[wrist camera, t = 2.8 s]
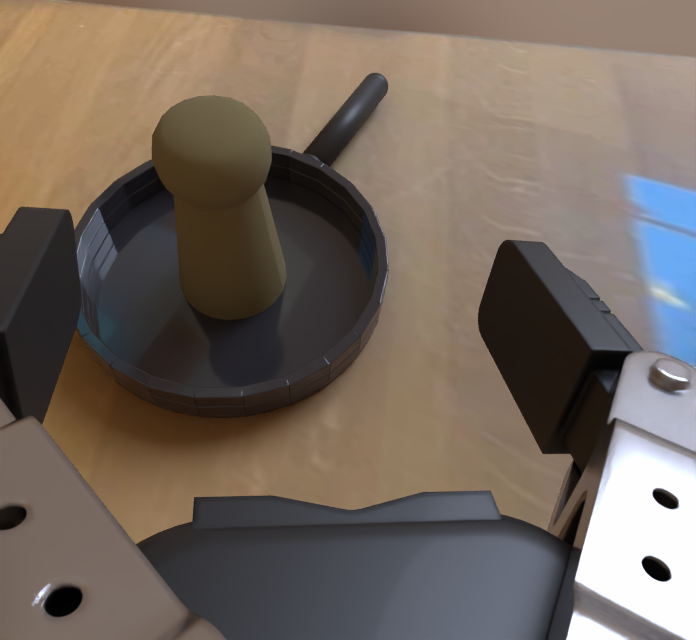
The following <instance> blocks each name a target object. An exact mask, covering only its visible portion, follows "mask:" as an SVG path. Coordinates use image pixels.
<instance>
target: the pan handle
mask: <svg viewBox="0 0 696 640" xmlns="http://www.w3.org/2000/svg"><path fill="white" fill-rule="evenodd" d="M387 90H388V82H387V80H386V78H385V77H384V76H383V75H381V74H379V73H372V74H369V75H368V76H367V77H366V78H365V79H364V80H363V81H362V83H361V84H360V85H359V86H358V87H357V89H356V90H355V91H354V92H353V93H352V95H351V96H350V97H349V98H348V100H347V101H346V102H345V103H344V104H343V106H342V107H341V108H340V109H339V110H338V112H337V113H336V114H335V115H334V116H333V118H332V119H331V120H330V121H329V122H328V124H327V125H326V126H325V127H324V128H323V130H322V131H321V132H320V133H319V134H318V136H317V137H316V138H315V139H314V140H313V142H312V143H311V144H310V145H309V146H308V148H307V149H306V150H305V151H304V153H303V155H306V156H308V157H310V158H313V159H315V160H317V161H320V162H322V163H324V164H326V165H327V166H330V165H331V164H332V163H333V161H334V160H335V159H336V157H337V156H338V155H339V154H340V152H341V151H342V150H343V149H344V147H345V146H346V145H347V143H348V142H349V141H350V140H351V138H352V137H353V136H354V134H355V133H356V132H357V131H358V129H359V128H360V127H361V126H362V124H363V123H364V122H365V120H366V119H367V118H368V117H369V115H370V114H371V113H372V111H373V110H374V109H375V108H376V106H377V105H378V104H379V102H380V101H381V100H382V99H383V97H384V96H385V95H386V93H387Z"/></svg>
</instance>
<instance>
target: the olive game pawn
mask: <svg viewBox="0 0 696 640" xmlns="http://www.w3.org/2000/svg"><path fill="white" fill-rule="evenodd" d="M152 160H153V163H154V167H155V169H156V171H157V174H158V176H159V178H160V180H161V181H162V183H163V184H164V186H165V187H166V189H167V190H168V191H170V192H171V193H172V194H173V195H174V207H175V220H176V234H177V248H178V262H179V276H180V287H181V290H182V292H183V294H184V296H185V299H186V300H187V301H188V302H189V303H190V304H191V305H192V306H193V307H194V308H195V309H196V310H197V311H199V312H201V313H203V314H205V315H207V316H209V317H212V318H218V319H224V320H235V319H245V318H248V317H251V316H253V315H256V314H259V313H261V312H263V311H264V310H265V309H267V308H268V307H269V306H271V305H272V304H273V303H275V301H276V300H277V299H278V297H279V296H280V294H281V293H282V292H283V290H284V286H285V282H286V278H287V275H286V267H285V262H284V258H283V254H282V250H281V247H280V243H279V239H278V235H277V232H276V228H275V224H274V220H273V217H272V213H271V209H270V205H269V202H268V198H267V194H266V191H265V187H264V183H265V181H266V178H267V175H268V172H269V169H270V165H271V161H272V151H271V143H270V137H269V134H268V131H267V129H266V127H265V125H264V124H263V122H262V121H261V119H260V117H259V116H258V115H257V114H256V113H255V112H254V111H253V110H251V109H250V108H249V107H248V106H246V105H245V104H244V103H242V102H239V101H237V100H234V99H232V98H228V97H222V96H215V95H214V96H198V97H195V98H191V99H187V100H184V101H182V102H180V103H178V104H176V105H174V106H172V107H171V108H170V109H169V110H168V111H167V112H166V113H165V114H164V115H163V116H162V117H161V119H160V121H159V123H158V125H157V127H156V129H155V131H154V133H153V135H152Z"/></svg>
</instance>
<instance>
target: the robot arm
mask: <svg viewBox="0 0 696 640" xmlns="http://www.w3.org/2000/svg"><path fill="white" fill-rule="evenodd" d="M80 307H81V286H80V277H79V269H78V260H77V252H76V243H75V235H74V227H73V220H72V216H71V213H70V212H69V210H65V209H50V208H35V207H20V208H19V209H18V210H17V212H16V213H15V215H14V217H13V218H12V220H11V221H10V223H9V224H8V226H7V228H6V229H5V231H4V232H3V234H0V640H696V369H695V368H693V367H692V366H690V365H689V364H687V363H685V362H683V361H681V360H679V359H677V358H675V357H673V356H670V355H667V354H664V353H660V352H655V351H645V350H643V348H642V347H641V346H640V345H639V344H638V342H637V341H636V340H635V339H634V338H633V337H632V335H631V334H630V333H629V332H628V331H627V329H626V328H625V327H624V326H623V325H622V323H621V322H620V321H619V320H618V319H617V318H616V316H615V315H614V314H611V313H610V312H611V310H610V309H609V308H608V307H607V306H606V304H605V303H604V302H603V301H600V297H599V296H598V295H597V294H596V293H595V291H594V290H593V289H592V288H591V287H590V285H589V284H588V283H587V282H586V281H584V280H583V279H581V278H580V277H579V276H577V275H576V274H574V273H573V272H571V271H570V270H568V269H567V268H565V267H564V266H563V265H562V263H561V262H560V261H559V260H558V259H557V257H556V256H555V255H554V254H553V252H552V251H551V250H550V249H549V248H548V246H547V245H546V244H545V243H543V242H532V241H517V240H505V241H504V242H503V243H502V244H501V245H500V247H499V249H498V251H497V254H496V257H495V260H494V263H493V266H492V269H491V272H490V276H489V279H488V282H487V285H486V288H485V291H484V294H483V297H482V300H481V303H480V307H479V313H478V325H479V331H480V334H481V336H482V338H483V340H484V342H485V344H486V346H487V348H488V350H489V352H490V354H491V356H492V357H493V359H494V361H495V363H496V365H497V367H498V369H499V371H500V373H501V375H502V377H503V379H504V381H505V382H506V384H507V386H508V388H509V390H510V392H511V394H512V396H513V398H514V400H515V402H516V404H517V405H518V407H519V409H520V411H521V413H522V415H523V417H524V419H525V421H526V423H527V425H528V427H529V428H530V430H531V432H532V434H533V436H534V438H535V440H536V442H537V444H538V446H539V448H540V450H541V452H542V453H543V454H571V456H572V457H573V461H572V463H571V464H570V466H569V468H568V470H567V472H566V475H565V478H564V481H563V484H562V487H561V490H560V493H559V496H558V499H557V502H556V505H555V508H554V511H553V514H552V517H551V520H550V523H549V526H548V529H547V531H545V530H543V529H542V528H540V527H537V526H535V525H532V524H530V523H528V522H525V521H522V520H519V519H516V518H513V517H510V516H506V515H501V514H500V513H499V511H498V508H497V506H496V503H495V501H494V498H493V496H492V493H491V491H455V492H422V493H418V494H414V495H411V496H407V497H403V498H399V499H396V500H392V501H388V502H385V503H381V504H377V505H373V506H370V507H366V508H362V509H357V510H345V509H340V508H334V507H329V506H324V505H319V504H314V503H308V502H303V501H298V500H293V499H288V498H282V497H277V496H232V497H194V507H193V521H192V522H189V523H185V524H182V525H178V526H175V527H172V528H170V529H167V530H164V531H162V532H159V533H157V534H155V535H153V536H151V537H149V538H147V539H145V540H143V541H141V542H139V543H137V544H135V543H134V542H133V540H132V539H131V538H130V537H129V535H128V534H127V533H126V531H125V530H124V529H123V528H122V526H121V525H120V524H119V523H118V521H117V520H116V519H115V517H114V516H113V515H112V514H111V512H110V511H109V510H108V509H107V507H106V506H105V505H104V503H103V502H102V501H101V500H100V498H99V497H98V496H97V495H96V493H95V492H94V491H93V490H92V488H91V487H90V486H89V484H88V483H87V482H86V481H85V479H84V478H83V477H82V476H81V474H80V473H79V472H78V470H77V469H76V468H75V467H74V465H73V464H72V463H71V462H70V460H69V459H68V458H67V456H66V455H65V454H64V453H63V451H62V450H61V449H60V448H59V446H58V445H57V444H56V442H55V441H54V440H53V439H52V437H51V436H50V435H49V434H48V432H47V431H46V430H45V428H44V427H43V426H42V423H43V420H44V417H45V415H46V412H47V409H48V406H49V403H50V400H51V397H52V395H53V392H54V389H55V386H56V383H57V380H58V377H59V374H60V372H61V369H62V366H63V363H64V360H65V357H66V354H67V352H68V349H69V346H70V343H71V340H72V337H73V334H74V331H75V329H76V326H77V323H78V320H79V315H80Z"/></svg>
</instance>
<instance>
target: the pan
mask: <svg viewBox="0 0 696 640" xmlns="http://www.w3.org/2000/svg"><path fill="white" fill-rule="evenodd" d="M271 151H272V161H271V165H270V169H269V172H268V175H267V178H266V181H265V183H264V187H265V191H266V194H267V198H268V202H269V205H270V209H271V213H272V217H273V220H274V224H275V228H276V232H277V235H278V239H279V243H280V247H281V250H282V254H283V258H284V262H285V267H286V275H287V278H286V282H285V286H284V290H283V292H282V293H281V294H280V296H279V297H278V299H277V300H276V301H275V303H273V304H272V305H271V306H269V307H268V308H267V309H265V310H264V311H263V312H261V313H259V314H256V315H253V316H251V317H248V318H245V319H235V320H224V319H218V318H212V317H209V316H207V315H205V314H203V313H201V312H199V311H197V310H196V309H195V308H194V307H193V306H192V305H191V304H190V303H189V302H188V301H187V300H186V299H185V296H184V294H183V292H182V290H181V287H180V276H179V262H178V248H177V234H176V220H175V207H174V195H173V194H172V193H171V192H170V191H168V190H167V189H166V187H165V186H164V184H163V183H162V181H161V180H160V178H159V176H158V174H157V171H156V169H155V167H154V163H153V160H149V161H148V162H145V163H143V164H142V165H140V166H138V167H137V168H135V169H133V170H132V171H130V172H129V173H127V174H125V175H124V176H122V177H120V178H119V179H117V180H116V181H114V182H113V183H112V184H111V185H110V186H109V187H108V188H107V189H106V190H105V191H104V192H103V193H102V194H101V195H100V196H99V197H98V198H97V199H96V200H95V201H94V202H93V203H92V204H90V206H89V207H88V209H87V210H86V212H85V214H84V215H83V217H82V219H81V220H80V222H79V223H78V225H77V227H76V228H75V230H74V235H75V243H76V252H77V260H78V269H79V277H80V286H81V307H80V315H79V320H78V323H77V326H76V328H77V330H78V332H79V334H80V337H81V338H82V340H83V341H84V343H85V345H86V346H87V348H88V350H89V351H90V353H91V355H92V356H93V358H94V359H95V360H96V361H97V362H98V363H99V364H100V365H101V366H102V367H103V368H104V370H105V371H106V372H107V373H108V374H109V375H110V376H111V377H112V378H113V379H114V380H116V381H117V383H118V384H120V385H121V386H122V387H124V388H125V389H127V390H129V391H130V392H132V393H133V394H135V395H136V396H138V397H139V398H141V399H144V400H146V401H148V402H150V403H152V404H154V405H157V406H159V407H162V408H165V409H169V410H172V411H175V412H178V413H183V414H189V415H195V416H201V417H219V418H227V417H241V416H250V415H255V414H260V413H265V412H270V411H273V410H276V409H279V408H282V407H285V406H288V405H291V404H293V403H295V402H297V401H300V400H302V399H304V398H306V397H308V396H310V395H312V394H314V393H315V392H317V391H318V390H320V389H322V388H323V387H325V386H326V385H328V384H329V383H330V382H332V381H333V380H334V379H335V378H337V377H338V376H339V375H340V374H341V373H343V372H344V371H345V370H346V369H347V368H348V366H349V365H350V364H351V363H352V362H353V361H354V360H355V359H356V358H357V357H358V355H359V354H360V352H361V351H362V349H363V348H364V347H365V345H366V344H367V342H368V340H369V338H370V336H371V334H372V332H373V330H374V328H375V327H376V325H377V323H378V318H379V314H380V311H381V306H382V302H383V297H384V293H385V288H386V283H387V278H388V272H389V266H388V255H387V244H386V238H385V235H384V232H383V230H382V228H381V226H380V223H379V221H378V219H377V216H376V214H375V212H374V209H373V208H372V206H371V205H370V204H369V203H368V202H367V200H366V199H365V198H364V197H363V196H362V194H361V193H360V192H359V191H358V190H357V188H356V187H355V186H354V185H353V184H352V183H351V182H350V181H348V180H347V179H346V178H344V177H343V176H341V175H340V174H339V173H337V172H336V171H334V170H333V169H332V168H330V167H329V166H327V165H326V164H324V163H322V162H320V161H317V160H315V159H313V158H310V157H308V156H306V155H303V154H301V153H298V152H296V151H294V150H291V149H286V148H281V147H276V146H271Z"/></svg>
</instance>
